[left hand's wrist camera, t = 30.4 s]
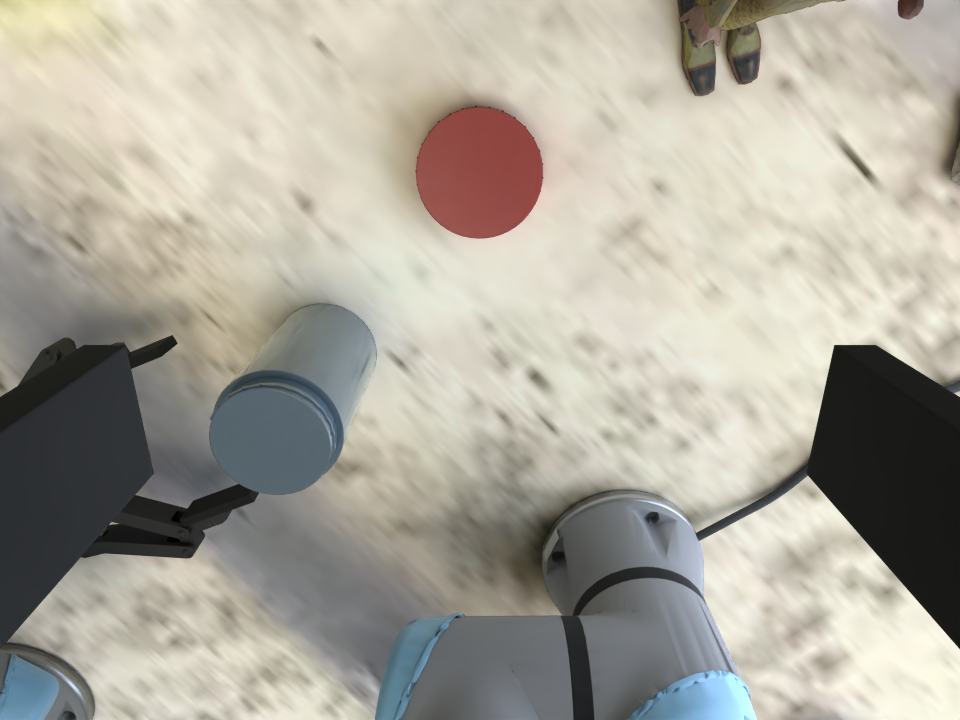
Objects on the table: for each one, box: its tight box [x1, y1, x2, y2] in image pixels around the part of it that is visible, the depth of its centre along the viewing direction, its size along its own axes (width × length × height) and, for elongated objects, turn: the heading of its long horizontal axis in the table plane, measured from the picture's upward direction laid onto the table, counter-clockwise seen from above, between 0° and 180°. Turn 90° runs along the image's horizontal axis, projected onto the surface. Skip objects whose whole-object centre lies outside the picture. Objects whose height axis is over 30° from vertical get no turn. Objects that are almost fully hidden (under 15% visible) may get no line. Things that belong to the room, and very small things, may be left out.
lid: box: [416, 106, 543, 238], centre depth 49 cm, size 10×10×2 cm
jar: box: [209, 304, 377, 495], centre depth 48 cm, size 9×9×16 cm
